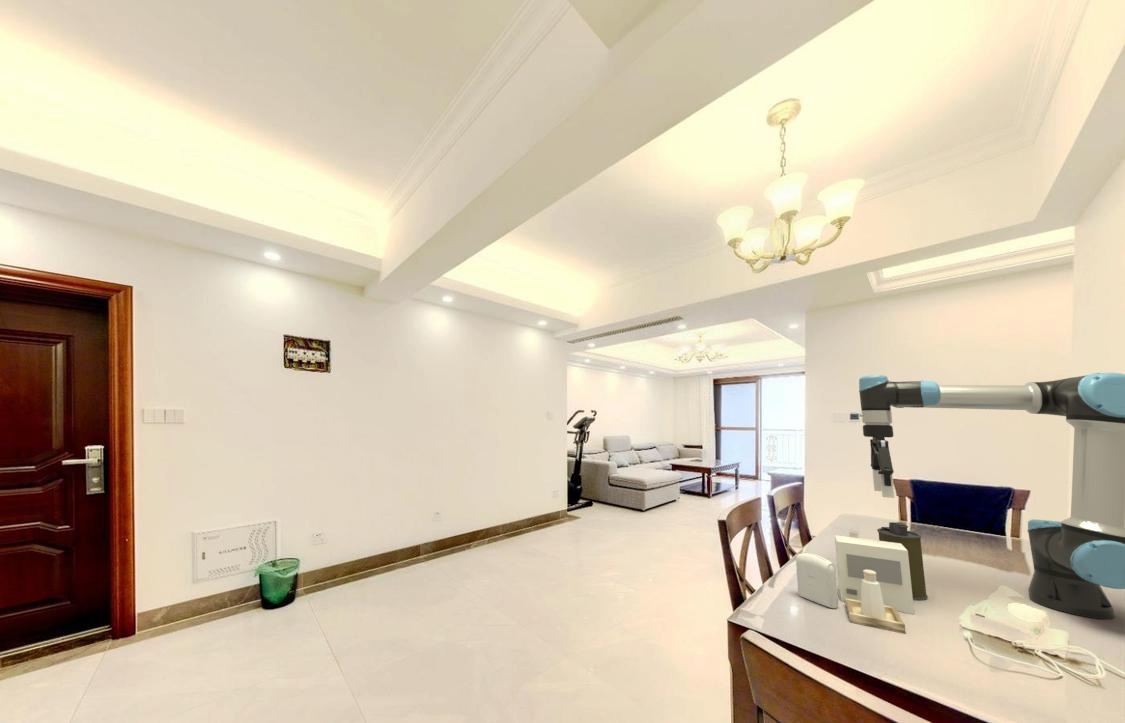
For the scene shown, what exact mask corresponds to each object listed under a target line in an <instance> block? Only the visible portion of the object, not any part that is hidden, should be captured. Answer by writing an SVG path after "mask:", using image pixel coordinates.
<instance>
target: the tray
mask: <svg viewBox="0 0 1125 723" xmlns="http://www.w3.org/2000/svg"><path fill="white" fill-rule="evenodd" d="M844 605H845V609H846V612H847V616H848V619H849V623H852V624H857V625H862V626H867V627H872V628H875V629H882V630H887V631H891V632H896V633H899V634H900V633H901V634H905V635H906V634H907V633H906V632H907V631H906V625H905V622H904V621H903V618H902V617H901V616H900V614H899V611H897V610H896V608H895V607H890V606H885V605H884V608H885V612H886V617H887V619H881V618H876V617H871V616H866V615H863V614H862V613H861V601H858V600H853V599H847V598H845V601H844Z"/></svg>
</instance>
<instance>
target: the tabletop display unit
mask: <svg viewBox="0 0 1125 723" xmlns="http://www.w3.org/2000/svg"><path fill="white" fill-rule="evenodd" d="M834 544H835V554H836V556H835V558H836V569H837V571H836V572H837V582H838V592H839V596H840V599H841V601H842V602H845V598H847V599H853V600H858V601H861V587H862V579H864V572H863V570H866V569H867V570H872V571H875V572H876V580H877V582H878V583H879V584H880V588H881V593H882V598H883V603H884V605H885V606H890V607H895V608H896V610H897V612H898V613H900V612H901V613H905V614H911V615H915V608H914V607H915V606H914V600H913V596H912V587H911V577H910V567H909V558H908V550H907V549H906V548H905V547H904V546H903V545H902V544H901V543H893V542H885V541H879V540H877V539H869V538H861V537H860V538H859V537H852V536H843V535H837V534H835V535H834Z"/></svg>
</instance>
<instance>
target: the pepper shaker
mask: <svg viewBox="0 0 1125 723" xmlns="http://www.w3.org/2000/svg"><path fill="white" fill-rule="evenodd" d="M863 572H864V579H862V587H861V613H862V614H863V615H866V616H871V617H876V618H881V619H887V617H886V612H885V608H884V603H883V598H882V593H881V588H880V584H879V583H878V582H877V580H876V572H875V571H872V570H867V569H866V570H863Z"/></svg>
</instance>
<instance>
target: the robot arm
mask: <svg viewBox="0 0 1125 723" xmlns="http://www.w3.org/2000/svg"><path fill="white" fill-rule="evenodd" d="M858 384H859V385H858V388H859V389H858V392H859V399H860V408H861V413H859V417H861V418H862V419H861V420H862V423H863V425H862V434H863V436H864V437H867V438H871V439H870V440H869V442H870V467H871V469H872V478H873V479H872V480H873V489H874V492H881V496H882V498H890V499H895V491H894V490H895V488H894V480H893V474H894V472H895V471H894V468H893V463H892V459H891V458H892V457H891V452H890V447H889V446H890V445H889V440H886V439H885V438H893V437H894V427H893V426H892V425H891V424H893V416H892V409H891V408H892V407H894V408H897V409H904V408H914V409H916V408H917V409H919V408H920V409H921V408H923V409H924V408H925V409H927V408H928V409H932V408H933V409H958V410H959V409H960V410H961V409H962V410H965V409H966V410H967V409H969V410H970V409H971V410H999V411H1001V410H1002V411H1003V410H1004V411H1005V410H1006V411H1007V410H1008V411H1009V410H1010V411H1025V412H1027V413H1029V414H1032V415H1033V414H1034V415H1035V414H1036V415H1050V416H1052V415H1053V416H1059V417H1065V421H1066V423H1067V424H1069V425H1071V426H1072V427H1073V428H1074V429H1073V430H1074V432H1073V452H1072V453H1073V456H1072V457H1073V458H1072V476H1071V477H1072V481H1071V504H1070V505H1071V506H1070V516H1069V517H1068V518H1066V519H1064V520H1061V521H1058V520H1057V521H1056V520H1046V519H1029V520H1028V522H1027V530H1026V531H1027V533H1028V539H1029V545H1030V551H1031V558H1032V559H1031V560H1032V564H1033V574H1032V577H1031V580H1030V584H1029V586H1028V595H1029V596H1028V597H1030V598H1031V599H1032V600H1031V599H1030V598H1029V599H1030V600H1031V601H1033V602H1034V601H1035V602H1034V603H1036V602H1037V603H1036V604H1039V605H1041V604H1042V605H1041V606H1043V605H1044V606H1043V607H1046V606H1047V608H1049V607H1050V609H1052V608H1053V609H1052V610H1056V609H1057V610H1056V611H1059V610H1060V611H1061V612H1063V611H1064V612H1063V613H1066V614H1067V613H1068V614H1072V615H1077V616H1082V617H1087V618H1094V619H1114V618H1115V612H1114V611H1115V610H1114V606H1113V605H1112V603H1111V601H1110V599H1109V598H1108V597H1107V594H1106V593H1105V591H1104V590H1103V588H1104V587H1105V588H1108V589H1113V590H1125V373H1121V372H1095V373H1091V374H1090V373H1089V374H1087V375H1081V376H1080V375H1079V376H1074V377H1067V378H1062V379H1055V380H1050V381H1040V382H1039V381H1031V382H1030V381H1029V382H1026V383H1025V384H1024V385H1022V384H1021V385H1018V384H1017V385H1011V384H1010V385H1007V384H1005V385H1003V384H1002V385H1001V384H1000V385H999V384H997V385H995V384H993V385H991V384H990V385H988V384H987V385H986V384H985V385H983V384H981V385H978V384H973V385H972V384H969V385H968V384H964V385H963V384H962V385H961V384H957V385H956V384H954V385H951V384H941V385H940V384H938V383H937V382H936V381H934V380H915V381H913V380H909V381H891V380H890V381H889V379H888V376H887V375H884V374H883V375H882V374H881V375H878V374H876V375H875V374H874V375H871V374H870V375H864V376H861V377H859V381H858ZM1102 587H1103V588H1102ZM1060 611H1059V612H1060Z"/></svg>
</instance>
